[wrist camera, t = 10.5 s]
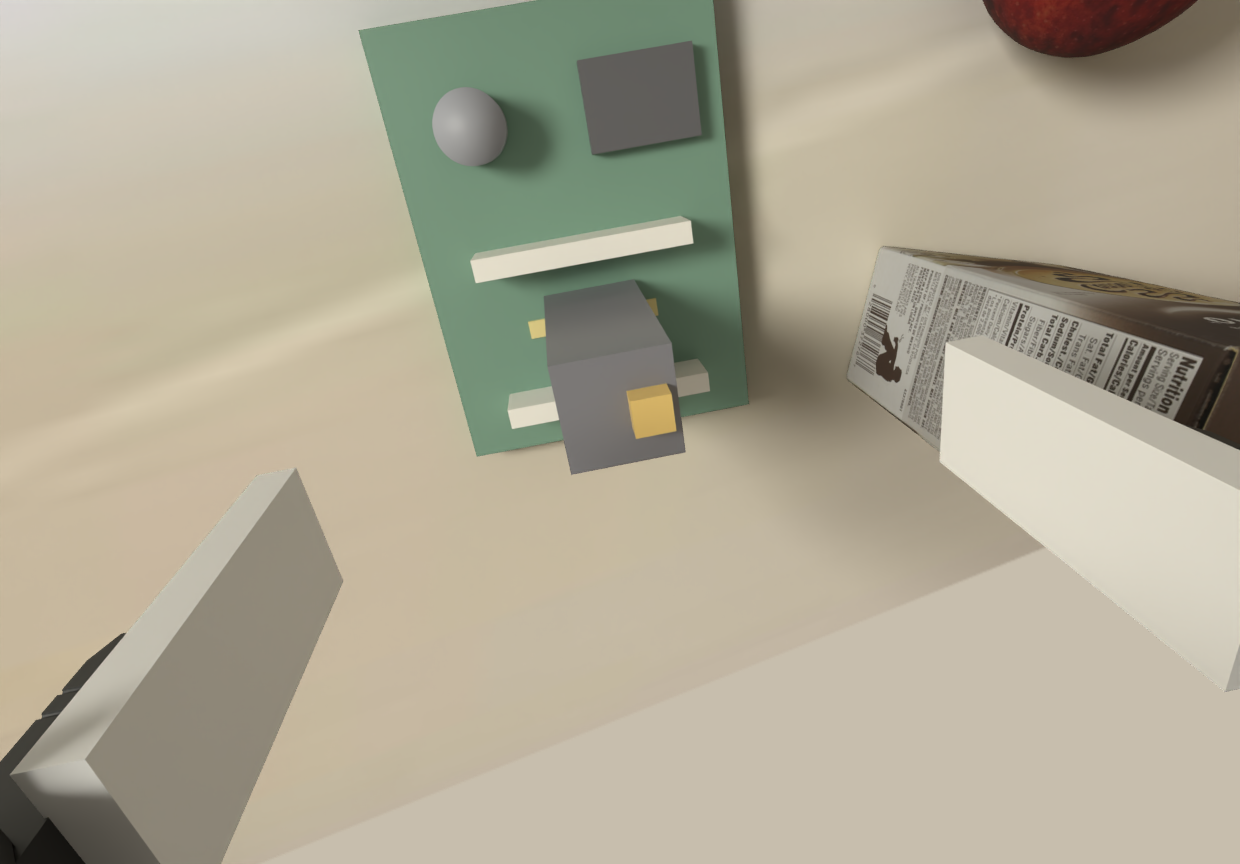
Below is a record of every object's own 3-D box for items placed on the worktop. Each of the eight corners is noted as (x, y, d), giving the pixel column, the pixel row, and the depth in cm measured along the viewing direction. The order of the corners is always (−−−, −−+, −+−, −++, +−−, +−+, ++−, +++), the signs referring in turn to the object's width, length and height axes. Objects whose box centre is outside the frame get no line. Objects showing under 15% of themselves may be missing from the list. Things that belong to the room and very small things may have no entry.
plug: (543, 295, 26) (548, 377, 18) (633, 279, 26) (676, 352, 18) (561, 380, 28) (572, 487, 20) (646, 364, 28) (691, 464, 20)
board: (367, 36, 23) (342, 20, 20) (702, -21, 24) (724, -45, 21) (479, 445, 30) (472, 476, 27) (741, 394, 30) (762, 420, 27)
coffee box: (1068, 260, 29) (1607, 372, 14) (1019, 397, 32) (1437, 613, 17) (876, 239, 28) (1251, 339, 13) (840, 384, 30) (1122, 605, 16)
